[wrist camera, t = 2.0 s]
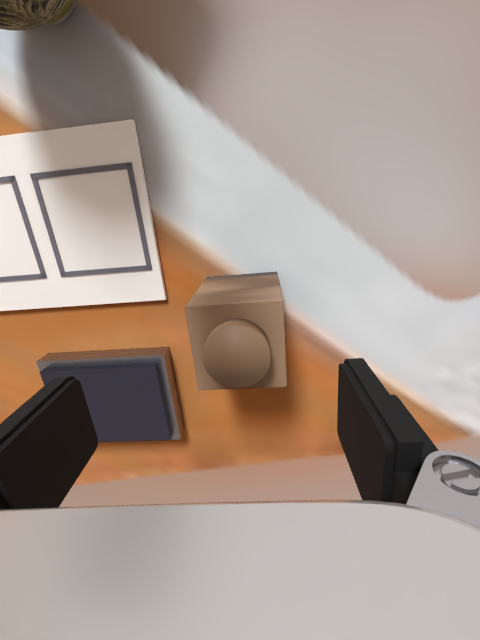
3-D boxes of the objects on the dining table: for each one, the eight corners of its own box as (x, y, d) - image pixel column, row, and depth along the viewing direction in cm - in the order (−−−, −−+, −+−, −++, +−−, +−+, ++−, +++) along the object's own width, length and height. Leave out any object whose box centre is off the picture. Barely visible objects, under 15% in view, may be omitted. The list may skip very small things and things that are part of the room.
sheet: (134, 120, 16) (131, 118, 16) (167, 298, 20) (165, 300, 20) (-97, 150, 18) (-104, 148, 17) (-29, 311, 21) (-33, 313, 21)
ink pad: (168, 347, 21) (160, 359, 20) (184, 428, 24) (178, 445, 22) (48, 353, 22) (30, 365, 20) (75, 431, 24) (61, 447, 23)
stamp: (276, 271, 19) (284, 307, 12) (279, 336, 20) (288, 399, 14) (207, 277, 19) (179, 314, 13) (215, 340, 21) (194, 402, 14)
